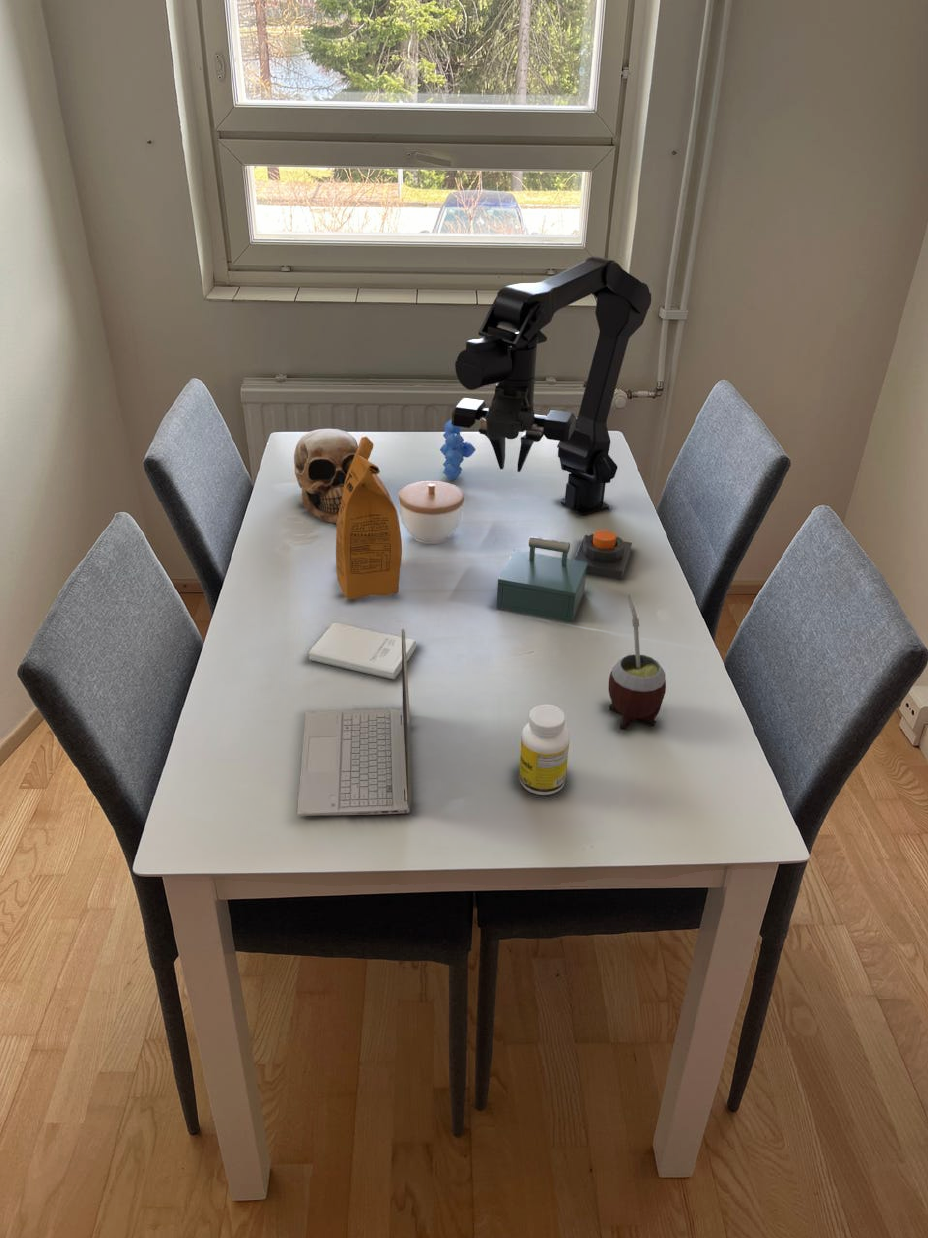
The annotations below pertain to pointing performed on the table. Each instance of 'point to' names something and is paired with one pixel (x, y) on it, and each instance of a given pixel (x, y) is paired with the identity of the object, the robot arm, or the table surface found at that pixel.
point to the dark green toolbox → (539, 601)
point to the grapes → (454, 450)
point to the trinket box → (431, 510)
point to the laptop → (357, 760)
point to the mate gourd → (636, 684)
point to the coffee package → (367, 532)
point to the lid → (544, 569)
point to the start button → (604, 539)
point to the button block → (604, 558)
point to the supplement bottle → (544, 751)
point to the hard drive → (361, 650)
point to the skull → (324, 470)
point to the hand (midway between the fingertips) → (510, 469)
